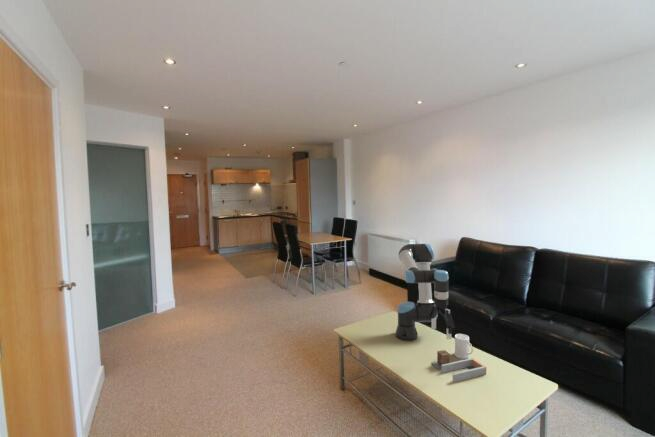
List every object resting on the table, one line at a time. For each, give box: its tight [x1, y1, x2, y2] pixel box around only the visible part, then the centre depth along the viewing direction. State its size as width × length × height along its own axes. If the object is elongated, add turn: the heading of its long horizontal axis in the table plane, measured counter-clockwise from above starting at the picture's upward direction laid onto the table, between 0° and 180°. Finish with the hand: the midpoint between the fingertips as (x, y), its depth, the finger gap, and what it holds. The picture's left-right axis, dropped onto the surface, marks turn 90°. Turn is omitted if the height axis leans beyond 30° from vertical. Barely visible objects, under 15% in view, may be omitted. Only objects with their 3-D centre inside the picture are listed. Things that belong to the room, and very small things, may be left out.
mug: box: [454, 333, 474, 360], centre depth 192 cm, size 12×8×12 cm
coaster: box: [430, 361, 441, 371], centre depth 183 cm, size 8×8×1 cm
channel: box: [440, 357, 487, 383], centre depth 175 cm, size 10×21×4 cm, turn 108°
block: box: [436, 349, 451, 366], centre depth 183 cm, size 5×5×7 cm
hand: (441, 333), depth 182 cm, fingers open, 13 cm apart
